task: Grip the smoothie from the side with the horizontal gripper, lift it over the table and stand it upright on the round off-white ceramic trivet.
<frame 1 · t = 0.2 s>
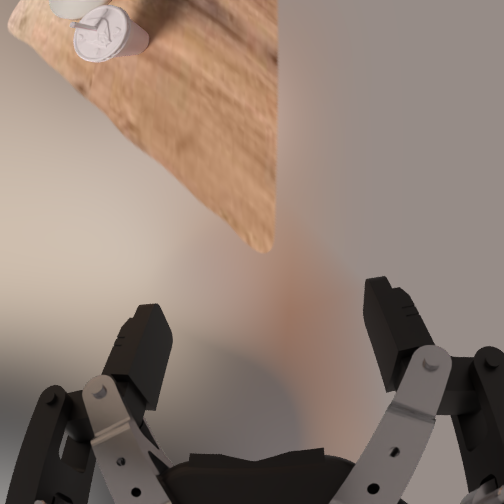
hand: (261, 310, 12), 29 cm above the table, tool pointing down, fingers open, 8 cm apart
smoothie: (136, 42, 30), on the table
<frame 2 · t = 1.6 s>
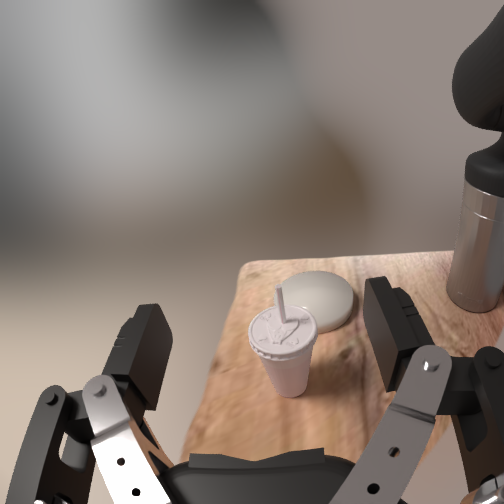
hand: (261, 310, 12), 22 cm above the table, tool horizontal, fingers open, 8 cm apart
trivet: (314, 305, 43), on the table
smoothie: (290, 385, 33), on the table
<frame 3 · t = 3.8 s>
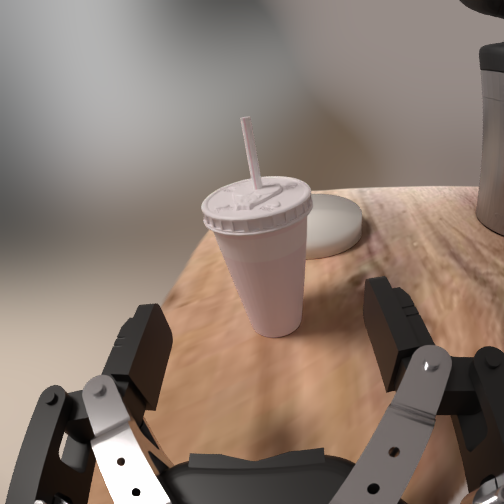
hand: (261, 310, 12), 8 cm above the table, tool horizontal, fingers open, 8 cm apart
trivet: (310, 230, 33), on the table
smoothie: (276, 321, 22), on the table
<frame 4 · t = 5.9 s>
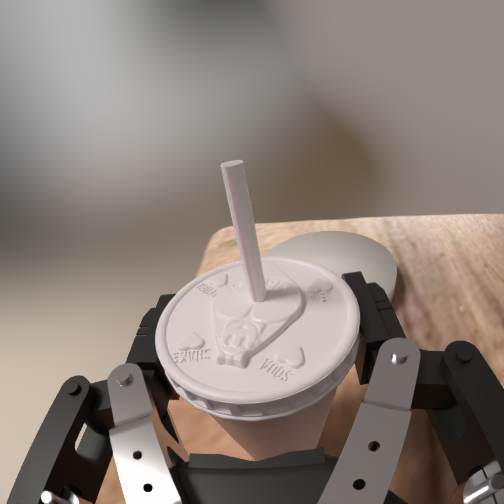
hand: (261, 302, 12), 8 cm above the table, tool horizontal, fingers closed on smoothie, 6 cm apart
trivet: (327, 285, 25), on the table
smoothie: (283, 441, 14), on the table, touching gripper
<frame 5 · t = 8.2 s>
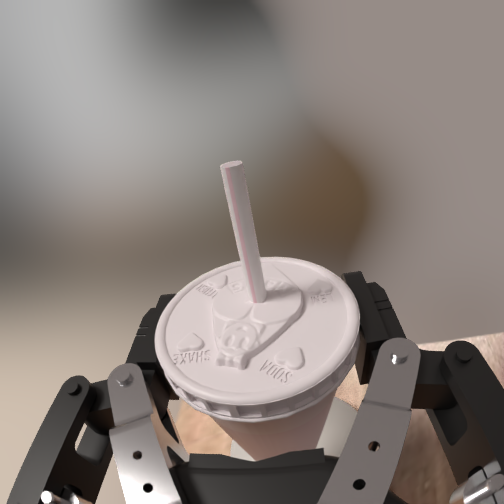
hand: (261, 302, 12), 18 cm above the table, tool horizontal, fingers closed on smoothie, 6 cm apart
trivet: (301, 455, 21), on the table
smoothie: (283, 442, 14), point 10 cm above the table, touching gripper
when the fingers open (11 cm above the table, at t = 10.2 s): smoothie drops 1 cm, resting on trivet.
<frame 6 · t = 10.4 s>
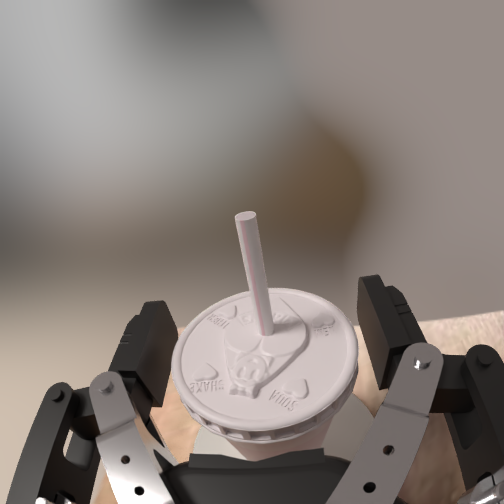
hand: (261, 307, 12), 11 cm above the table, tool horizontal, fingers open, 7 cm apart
trivet: (288, 459, 16), on the table
smoothie: (284, 452, 15), point 2 cm above the table, touching trivet
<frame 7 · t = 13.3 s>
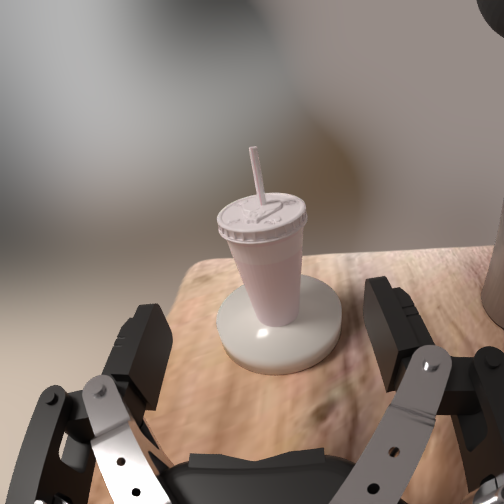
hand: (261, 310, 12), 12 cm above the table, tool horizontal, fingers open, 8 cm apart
trivet: (280, 326, 28), on the table
smoothie: (277, 313, 27), point 2 cm above the table, touching trivet
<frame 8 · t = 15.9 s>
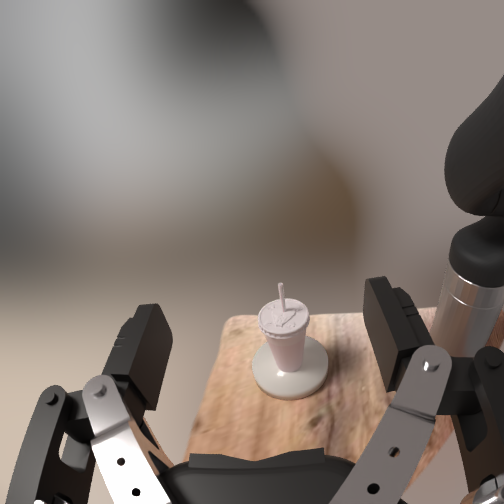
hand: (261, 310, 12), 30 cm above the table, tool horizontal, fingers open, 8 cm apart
trivet: (290, 369, 43), on the table
smoothie: (289, 363, 42), point 2 cm above the table, touching trivet
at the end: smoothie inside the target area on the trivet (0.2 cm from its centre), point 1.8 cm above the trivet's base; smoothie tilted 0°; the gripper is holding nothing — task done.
